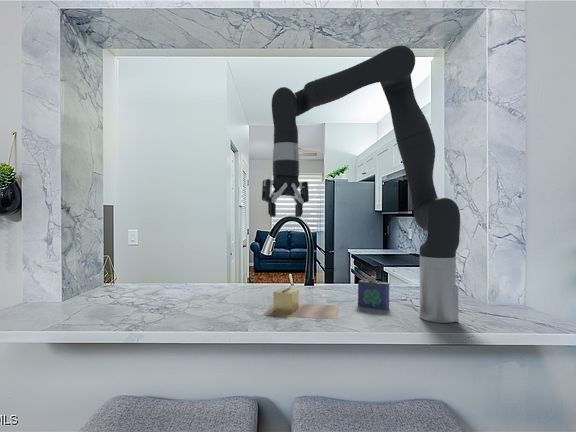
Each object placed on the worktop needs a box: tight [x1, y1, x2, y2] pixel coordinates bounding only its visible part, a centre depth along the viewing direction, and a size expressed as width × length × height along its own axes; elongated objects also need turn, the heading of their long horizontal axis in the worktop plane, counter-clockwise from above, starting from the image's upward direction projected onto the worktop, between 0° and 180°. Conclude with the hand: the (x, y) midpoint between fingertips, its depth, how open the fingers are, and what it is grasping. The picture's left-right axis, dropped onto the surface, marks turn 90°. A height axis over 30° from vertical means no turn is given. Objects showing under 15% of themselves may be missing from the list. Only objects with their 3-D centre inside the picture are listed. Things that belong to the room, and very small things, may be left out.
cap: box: [272, 287, 300, 313], centre depth 100 cm, size 6×6×6 cm
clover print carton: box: [357, 275, 390, 310], centre depth 103 cm, size 9×3×11 cm, turn 63°
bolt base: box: [262, 303, 340, 320], centre depth 99 cm, size 20×14×6 cm
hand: (285, 216), depth 100 cm, fingers open, 8 cm apart
